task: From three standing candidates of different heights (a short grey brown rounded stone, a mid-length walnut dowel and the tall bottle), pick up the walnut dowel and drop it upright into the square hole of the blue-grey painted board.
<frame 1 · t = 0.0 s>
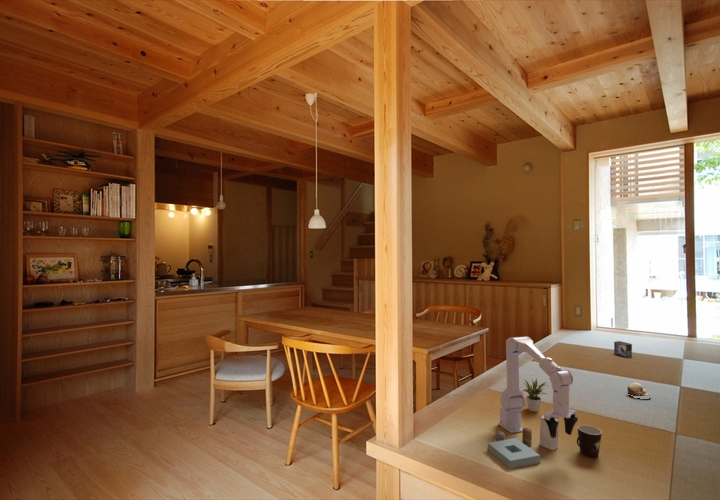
hand: (560, 435, 151), 10 cm above the table, fingers open, 7 cm apart
skincare box: (549, 447, 162), on the table
walnut dowel: (526, 444, 163), on the table
skull: (637, 396, 219), on the table
grey brown rounded stone: (499, 442, 165), on the table
hole board: (513, 456, 154), on the table
house plant: (535, 411, 198), on the table
coffee mug: (585, 454, 156), on the table
small box: (622, 356, 302), on the table
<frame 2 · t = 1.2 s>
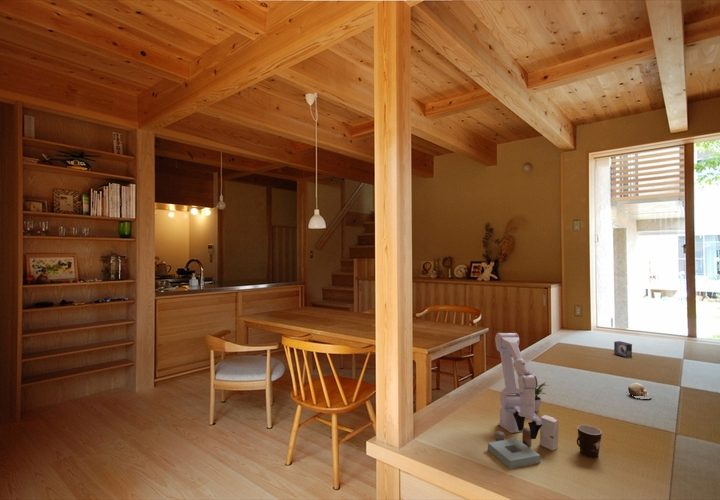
hand: (527, 434, 163), 4 cm above the table, fingers open, 7 cm apart
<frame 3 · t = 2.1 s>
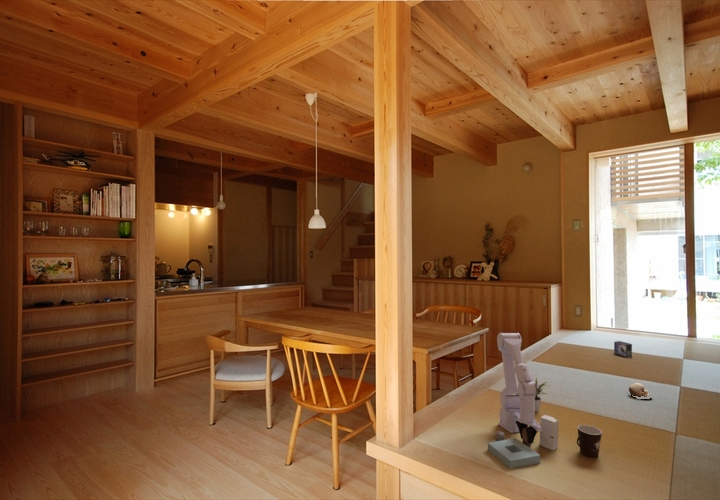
hand: (526, 440, 163), 2 cm above the table, fingers closed on walnut dowel, 4 cm apart
walnut dowel: (526, 444, 163), on the table, touching gripper
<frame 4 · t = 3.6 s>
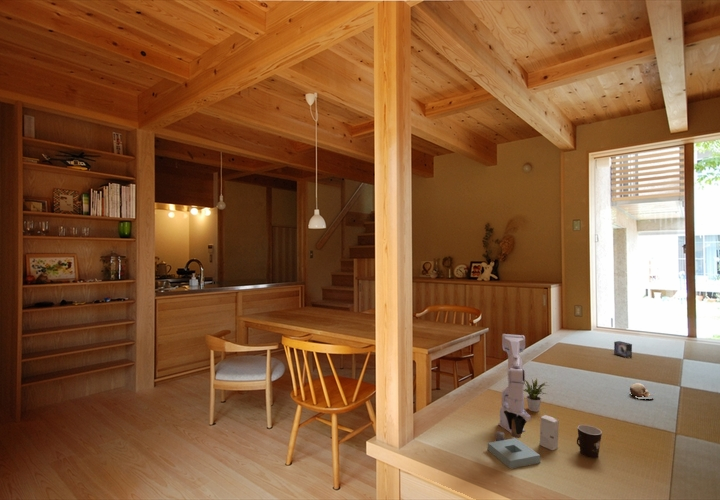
hand: (515, 431, 155), 10 cm above the table, fingers closed on walnut dowel, 4 cm apart
walnut dowel: (516, 435, 155), point 8 cm above the table, touching gripper
when the fingers open (4 cm above the table, at t = 5.2 s): walnut dowel drops 2 cm, resting in hole board.
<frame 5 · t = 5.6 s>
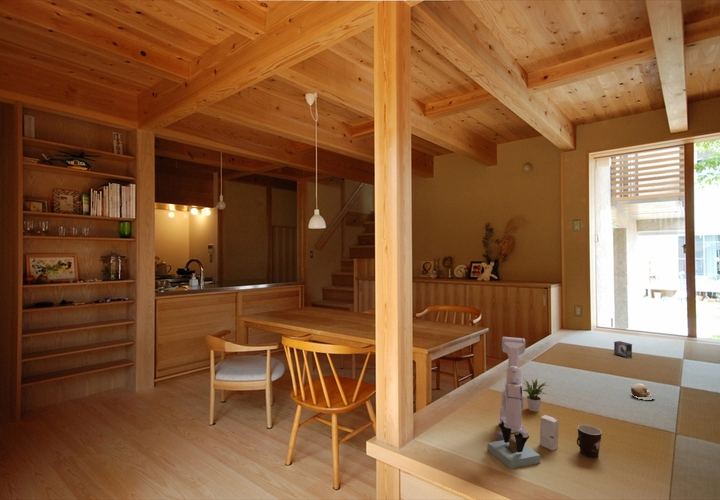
hand: (513, 446, 154), 4 cm above the table, fingers open, 7 cm apart
walnut dowel: (513, 456, 154), resting in hole board
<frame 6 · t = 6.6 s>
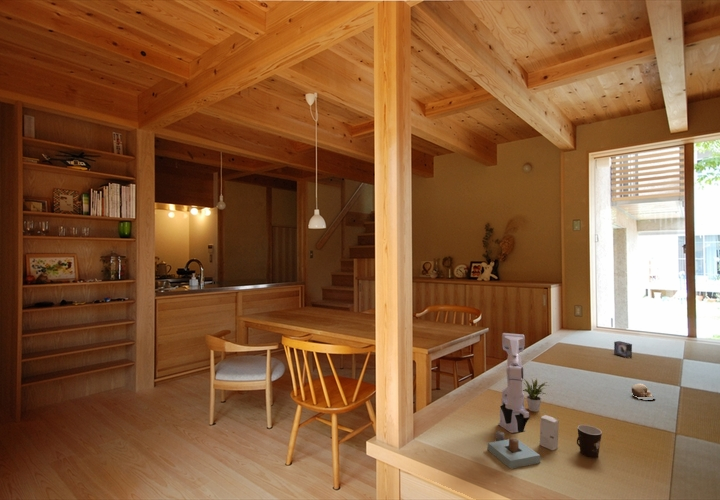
hand: (514, 427, 158), 10 cm above the table, fingers open, 7 cm apart
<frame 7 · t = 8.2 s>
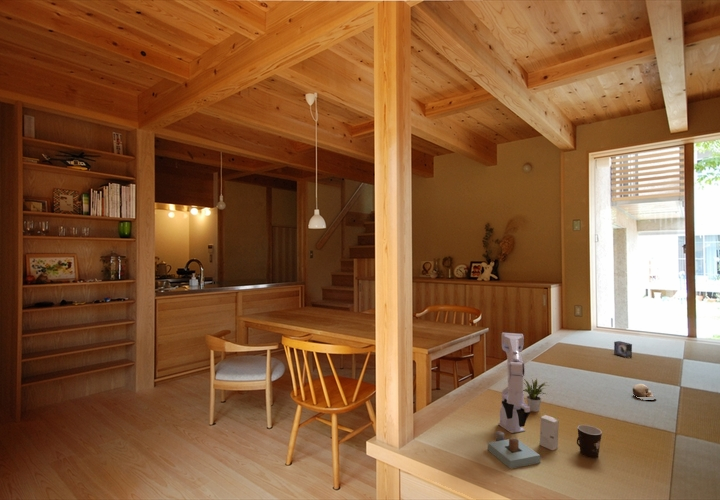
hand: (515, 422, 161), 10 cm above the table, fingers open, 7 cm apart
at the end: walnut dowel 0.2 cm off-centre on the hole board, point 0.0 cm above the hole board's base; walnut dowel tilted 0°; the gripper is holding nothing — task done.
